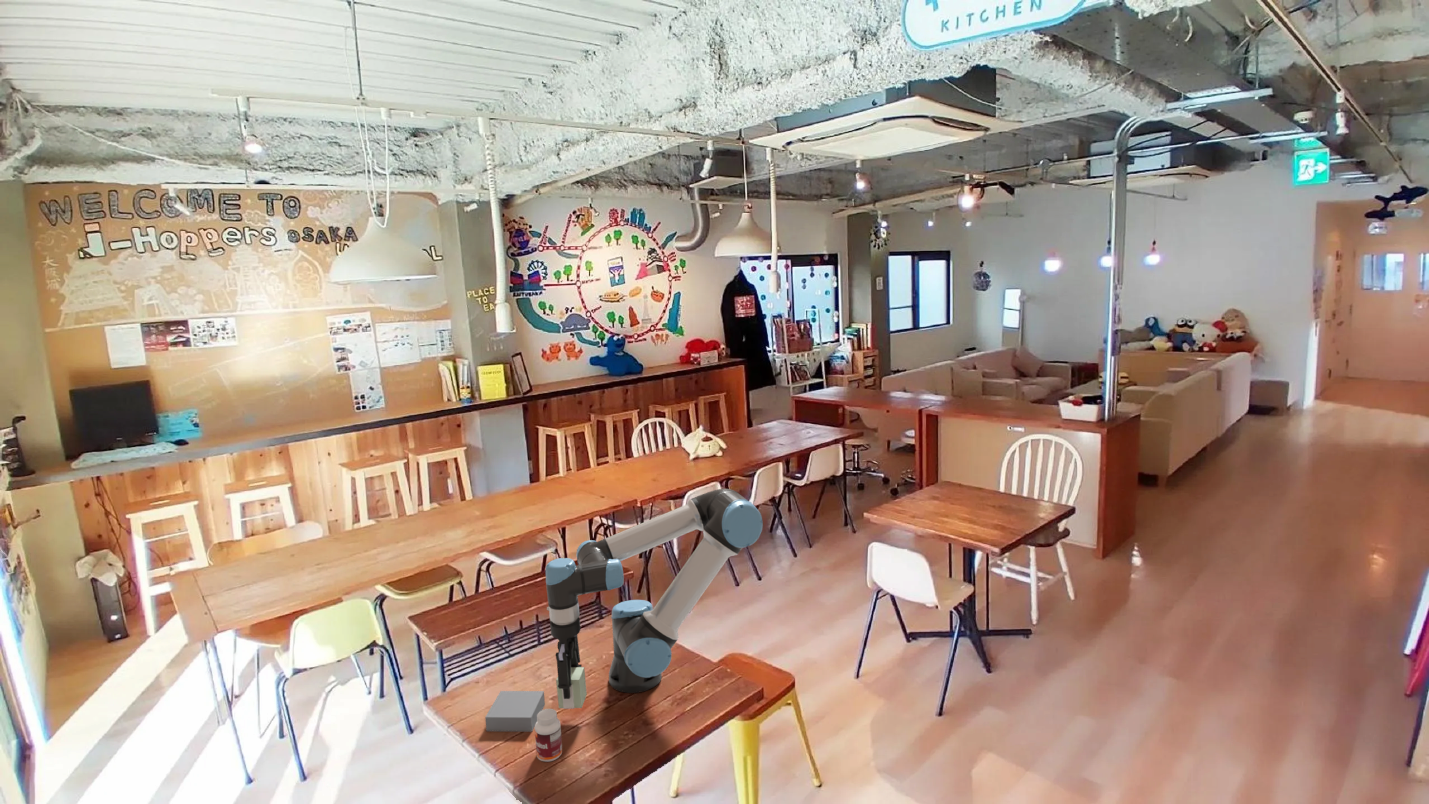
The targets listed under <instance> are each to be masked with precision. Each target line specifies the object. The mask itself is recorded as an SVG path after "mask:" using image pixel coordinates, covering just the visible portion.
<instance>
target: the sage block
mask: <svg viewBox="0 0 1429 804" xmlns="http://www.w3.org/2000/svg"><path fill="white" fill-rule="evenodd" d="M555 684H556V694H557V703H558V709H564V708H563V697H562V689H559V687H558V685H559V684H558V676H557V677H556V679H555ZM571 684H573V695H574V706H575V707H574V709H583V706H584V703H585V700H586V698H587V693H588V692H587V685H586V684H587V683H586V671H585V666H581V667H571Z"/></svg>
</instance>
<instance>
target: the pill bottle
mask: <svg viewBox="0 0 1429 804" xmlns="http://www.w3.org/2000/svg"><path fill="white" fill-rule="evenodd" d="M561 725H562V724H561V721H560V719H559V717H558V714H557V710H555V709H553V708H545V709H544V708H543V710H542V711H540V712H539V713H538V714H537V722H536V724H535V727H534V736H535V738H534V739H535V750H536V751H535V752H536V753H535V754H536V758H537V759H538V760H539V761H541V762H546V763H547V762H548V763H549V762H553V761H556V760H557V759H559V757H560V756H561V755H562V753H563V743H562V742H563V741H562V728H561V727H562V726H561Z"/></svg>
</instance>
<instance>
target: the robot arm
mask: <svg viewBox="0 0 1429 804" xmlns="http://www.w3.org/2000/svg"><path fill="white" fill-rule="evenodd" d="M763 522H764V521H763V516H762V513H761V512H760V511H759V510H758V508H757V507H756V506H755V505H754V503H752V502H751V501H749V500H748V499H747V498H745V497H744V496H742V495H741V494H740V493H739V492H738V491H736V490H733V489H730V488H719V489H714V490H711V491H707V492H704V493H702V494H700V495H697V496H695V497H692V498H690V499H688V501H687V503H686V504H685V505H682V506H679V507H678V508H675V509H672V510H670V511H668V512H666V513H663V514H661V515H660V514H659V515H658V516H656V517H653V518H651V519H650V520H646V521H644V522H642V523H639V524H637V525H635V526H632V527H630V528H627V529H625V530H622V531H620V532H618V533H615V534H613V535H610V536H608V537H605V538H604V539H601V540H598V541H596V540H592V539H591V540H590V539H589V540H584V541H583V542H581V544H580V545H578V547H577V549H576V559H577V560H576V561H577V564H576V563H575V561H574V559H572V558H569V557H568V558H567V557H565V558H563V557H561V558H560V557H558V558H555V559H552V560H551V561H549V562H548V563H547V564H546V566H545V583H546V584H545V587H546V593H547V594H546V595H547V603H548V606H547V607H546V610H547V611H549V612H548V615H549V621H550V622H549V625H550V626H549V627H550V635H551V636H552V637H553V638H556V639H557V640H558V642H557V650H558V652H555V660H556V667H557V668H556V669H557V677H558V684H559V685H558V687H559V689H562V697H563V708H562V709H564V710H565V709H566V710H568V709H573V710H574V709H575V708H574V707H575V706H574V695H573V684H571V667H582V664H580V662H581V657H580V649H579V648H580V647H579V636H578V635H579V633H581V629H582V628H581V619H580V607H579V597H578V596H582V595H588V594H593V593H600V592H604V591H611V590H614V589H617V588H621V587H622V586H623V585H624V579H625V576H624V570H623V569H624V568H623V564H622V561H624V560H627V559H629V558H631V557H634V556H636V555H640V554H642V553H643V552H647V551H648V550H651V549H653V548H655V547H658V546H660V545H663V544H665V543H668V542H670V541H673V540H674V539H677V538H680V537H682V536H684V535H686V534H688V533H692V532H694V531H695V530H699V531H700V532H702V533H703V534H702V535H703V538H702V539H701V541H700V542H699V544H698V545H697V546H696V548H695V550H694V551H693V552H692V553H691V554H690V556H689V558H688V559H687V561H686V562H685V563H684V565H683V566H682V568H681V569H680V570H679V572H678V574H676V576H675V577H674V579H673V581H672V582H671V583H670V585H669V586H668V588H667V589H666V590H665V591H664V593H663V595H662V596H661V597H660V598H659V600H658V602H657V603H656V605H654V606H653V604H652V603H651V602H650V601H648V600H645V599H630V600H625V601H621V602H619V603H616V604H615V605H614V606H613V607H612V608H611V609H612V610H611V617H610V618H611V621H612V622H611V623H612V627H611V628H612V642H613V643H612V644H613V657H612V661H611V664H610V668H609V672H608V683H609V685H610V687H612V688H613V689H614V690H616V691H619V692H621V693H628V694H634V693H635V694H637V693H638V694H639V693H643V692H646V691H648V690H651V689H653V688H655V687H656V686H658V684H659V683H661V680H662V673H663V672H665V670H666V669H668V667H670V663H671V661H672V648H673V647H674V645H675V644H676V643H677V641H678V640H679V629H680V627H681V626H682V624H683V623H684V622H685V620H686V618H688V616H689V614H690V613H691V612H692V610H693V609H694V608H695V606H696V605H697V603H698V602H699V600H700V599H701V597H702V596H703V594H704V593H705V592H706V590H707V589H708V588H709V586H710V584H711V583H712V582H713V580H714V579H715V577H716V576H717V575H718V574H719V572H720V570H721V569H722V568H723V566H724V565H725V563H726V562H727V560H728V559H729V558H730V557H733V556H738V555H739V553H740V552H741V551H742V550H743V548H747V547H748V546H749V547H750V546H752V545H754V544H755V543H756V542H757V541H758V540H759V538H760V537H761V533H762V532H763V527H764V525H763Z"/></svg>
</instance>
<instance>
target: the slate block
mask: <svg viewBox="0 0 1429 804" xmlns="http://www.w3.org/2000/svg"><path fill="white" fill-rule="evenodd" d="M545 705H546V701H545V691H544V690H500V691H499V692H498V695H497V697H496V698H495V700H494V701H493V703H492V705H491V707H490V708H489V710H488V712H487V714H486V715H485V716H484V717H485V718H484V720H485V729H486V732H520V733H521V732H525V733H526V732H528V733H529V732H533V731H534V730H535V724H536V722H537V714H538V713H539V712H540V711H542V710H544V707H545Z"/></svg>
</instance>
